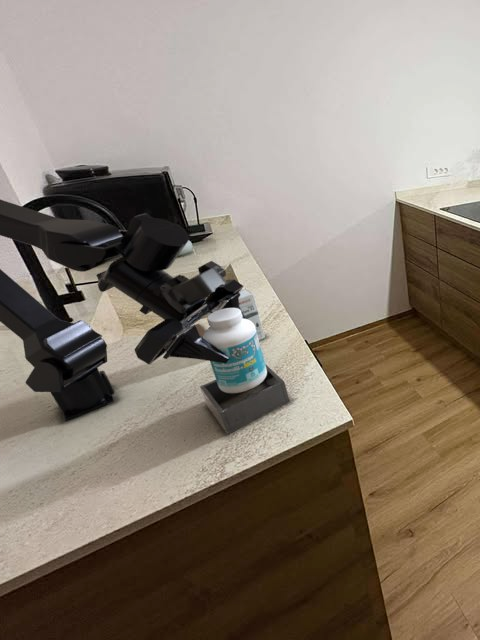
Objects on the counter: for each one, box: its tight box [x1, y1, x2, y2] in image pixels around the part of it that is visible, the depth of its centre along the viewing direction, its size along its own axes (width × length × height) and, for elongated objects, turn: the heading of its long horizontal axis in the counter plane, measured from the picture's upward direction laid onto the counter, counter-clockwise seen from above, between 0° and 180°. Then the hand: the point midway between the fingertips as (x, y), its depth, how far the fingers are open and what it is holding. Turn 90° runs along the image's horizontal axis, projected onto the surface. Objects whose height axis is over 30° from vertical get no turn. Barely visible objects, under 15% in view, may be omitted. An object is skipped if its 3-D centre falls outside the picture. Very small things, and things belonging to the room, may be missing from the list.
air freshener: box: [177, 240, 193, 257], centre depth 141 cm, size 11×8×10 cm
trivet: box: [187, 323, 206, 338], centre depth 89 cm, size 8×8×1 cm
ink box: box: [206, 288, 266, 341], centre depth 84 cm, size 9×5×12 cm, turn 143°
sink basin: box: [199, 363, 290, 435], centre depth 67 cm, size 10×10×4 cm
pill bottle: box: [203, 308, 267, 394], centre depth 63 cm, size 8×7×14 cm
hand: (242, 347), depth 63 cm, fingers closed on pill bottle, 7 cm apart
